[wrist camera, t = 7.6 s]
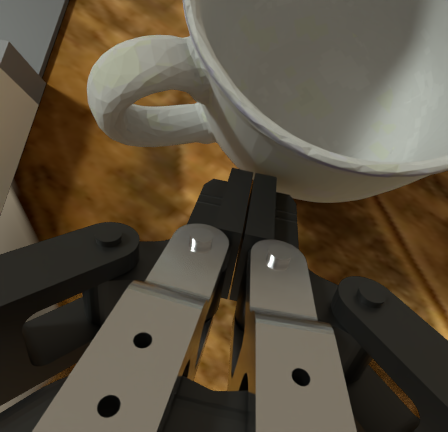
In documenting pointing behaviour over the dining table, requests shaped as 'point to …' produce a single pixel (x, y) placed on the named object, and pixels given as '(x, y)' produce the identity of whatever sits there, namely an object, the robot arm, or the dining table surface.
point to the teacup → (293, 91)
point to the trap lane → (22, 74)
